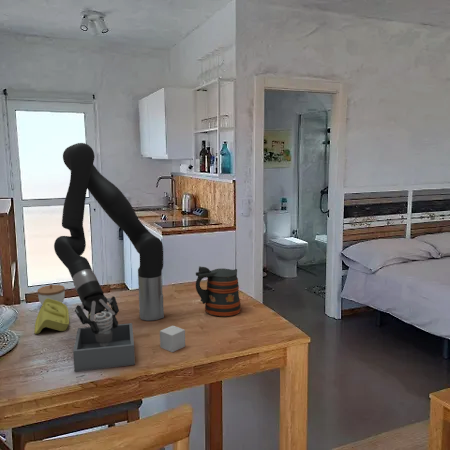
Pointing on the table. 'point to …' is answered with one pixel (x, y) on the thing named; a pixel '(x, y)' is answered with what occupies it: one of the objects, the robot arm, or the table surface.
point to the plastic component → (52, 316)
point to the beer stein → (219, 291)
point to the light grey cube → (172, 338)
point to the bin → (104, 349)
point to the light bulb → (104, 328)
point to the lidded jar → (51, 293)
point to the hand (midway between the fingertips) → (106, 329)
